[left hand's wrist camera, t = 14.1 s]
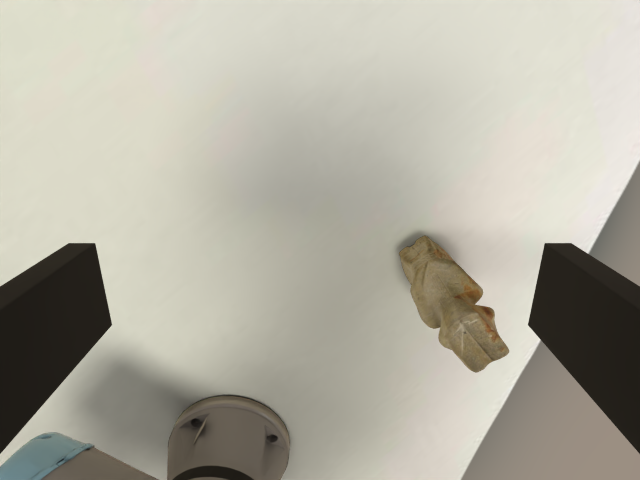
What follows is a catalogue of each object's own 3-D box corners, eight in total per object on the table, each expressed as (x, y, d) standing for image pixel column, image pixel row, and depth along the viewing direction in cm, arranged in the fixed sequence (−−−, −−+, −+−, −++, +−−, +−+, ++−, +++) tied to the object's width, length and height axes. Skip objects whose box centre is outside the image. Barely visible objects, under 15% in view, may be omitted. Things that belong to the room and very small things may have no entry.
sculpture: (418, 298, 46) (461, 391, 32) (384, 249, 44) (415, 326, 30) (464, 271, 45) (529, 355, 31) (432, 220, 43) (486, 285, 29)
